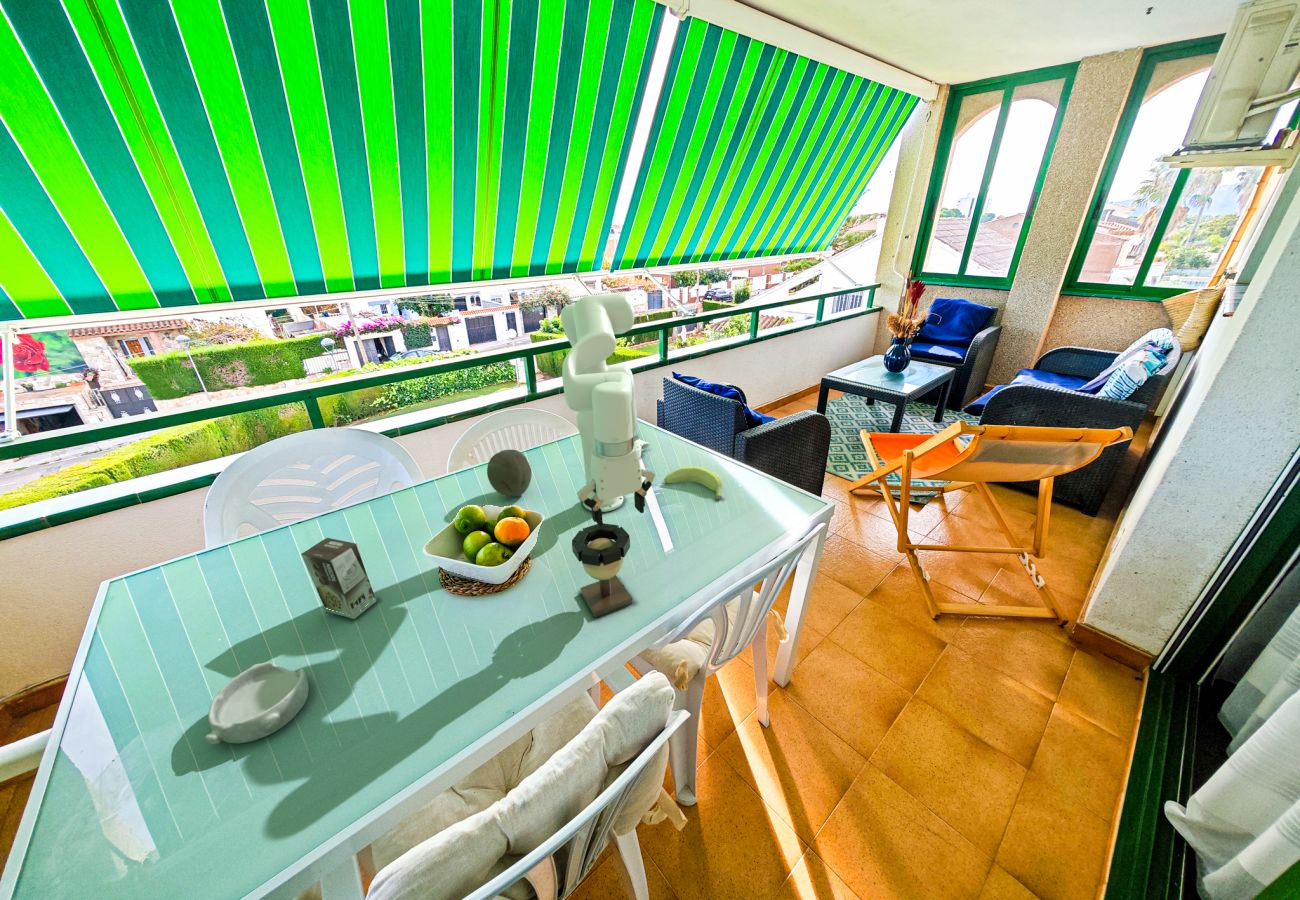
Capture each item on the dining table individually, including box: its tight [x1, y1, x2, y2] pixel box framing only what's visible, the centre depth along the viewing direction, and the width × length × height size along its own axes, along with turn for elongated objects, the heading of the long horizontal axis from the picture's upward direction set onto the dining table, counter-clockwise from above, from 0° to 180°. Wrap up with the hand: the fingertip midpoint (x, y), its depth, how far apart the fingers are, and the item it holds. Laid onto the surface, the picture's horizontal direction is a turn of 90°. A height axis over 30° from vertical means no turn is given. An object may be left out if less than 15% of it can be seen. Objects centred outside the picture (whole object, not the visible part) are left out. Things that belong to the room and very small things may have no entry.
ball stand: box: [579, 538, 633, 619], centre depth 102 cm, size 9×9×16 cm
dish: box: [204, 661, 310, 745], centre depth 80 cm, size 14×14×5 cm
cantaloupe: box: [486, 449, 533, 498], centre depth 147 cm, size 14×14×15 cm
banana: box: [663, 465, 723, 500], centre depth 149 cm, size 14×6×20 cm
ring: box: [571, 522, 631, 566], centre depth 99 cm, size 12×12×2 cm
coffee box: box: [300, 537, 377, 620], centre depth 102 cm, size 9×6×16 cm
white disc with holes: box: [634, 438, 651, 458], centre depth 179 cm, size 3×18×15 cm
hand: (619, 516), depth 99 cm, fingers open, 9 cm apart
